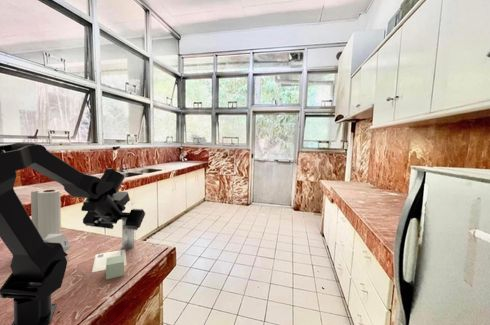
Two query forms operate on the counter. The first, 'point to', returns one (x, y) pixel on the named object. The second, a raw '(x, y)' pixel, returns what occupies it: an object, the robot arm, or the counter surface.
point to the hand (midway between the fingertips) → (124, 228)
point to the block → (115, 267)
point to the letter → (102, 258)
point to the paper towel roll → (46, 211)
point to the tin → (127, 237)
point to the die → (58, 240)
